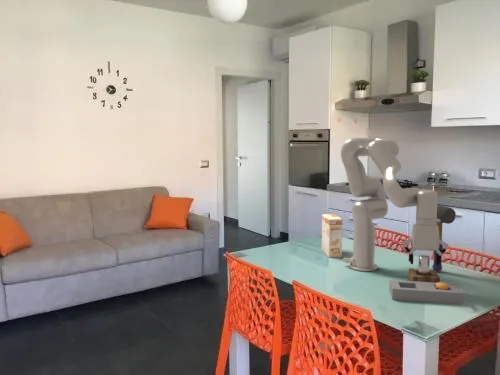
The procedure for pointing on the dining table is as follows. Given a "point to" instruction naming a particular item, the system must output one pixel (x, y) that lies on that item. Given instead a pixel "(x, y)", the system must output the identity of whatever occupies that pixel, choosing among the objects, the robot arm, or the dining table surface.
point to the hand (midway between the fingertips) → (424, 263)
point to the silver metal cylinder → (424, 265)
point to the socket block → (424, 292)
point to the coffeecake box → (332, 235)
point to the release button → (441, 286)
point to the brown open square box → (423, 276)
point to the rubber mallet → (447, 217)
